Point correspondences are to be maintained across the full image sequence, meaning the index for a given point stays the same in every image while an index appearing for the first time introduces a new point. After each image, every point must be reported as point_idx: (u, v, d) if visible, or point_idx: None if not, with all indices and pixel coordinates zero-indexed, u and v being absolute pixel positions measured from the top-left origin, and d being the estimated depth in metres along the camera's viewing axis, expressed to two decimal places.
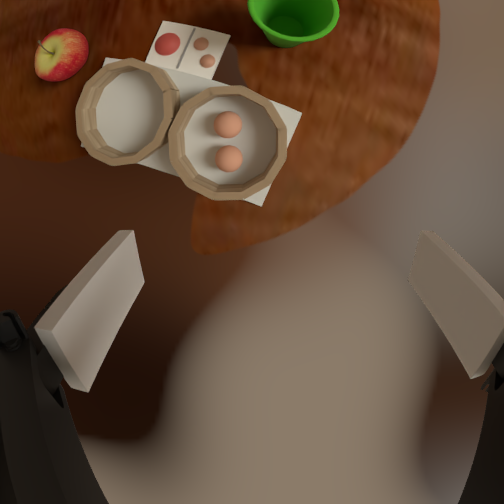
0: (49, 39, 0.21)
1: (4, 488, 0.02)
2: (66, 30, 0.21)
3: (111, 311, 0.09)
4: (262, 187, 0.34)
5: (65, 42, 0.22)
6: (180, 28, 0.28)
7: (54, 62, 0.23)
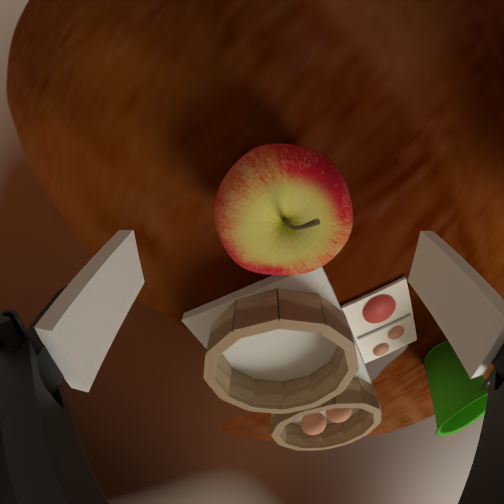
0: (314, 193, 0.14)
1: (3, 488, 0.02)
2: (351, 215, 0.15)
3: (111, 311, 0.09)
4: (316, 449, 0.33)
5: (330, 248, 0.16)
6: (404, 303, 0.26)
7: (278, 259, 0.16)
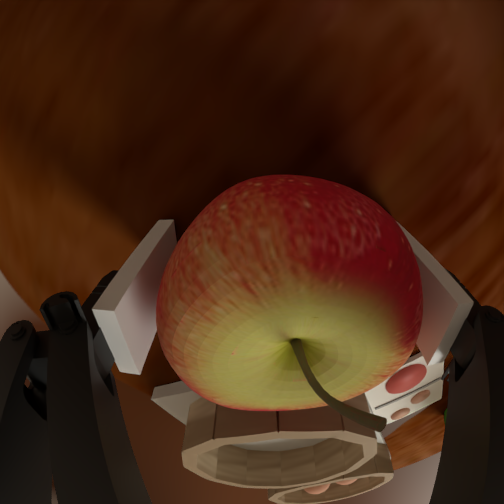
0: (368, 310, 0.06)
1: (33, 484, 0.03)
2: (420, 328, 0.07)
3: None
4: (318, 502, 0.25)
5: (375, 383, 0.07)
6: (436, 368, 0.18)
7: (279, 403, 0.08)
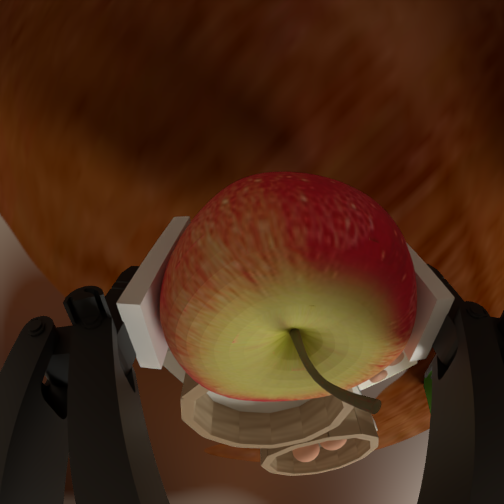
0: (363, 299, 0.06)
1: (46, 483, 0.03)
2: None
3: None
4: (310, 473, 0.29)
5: (371, 374, 0.08)
6: None
7: (279, 393, 0.08)
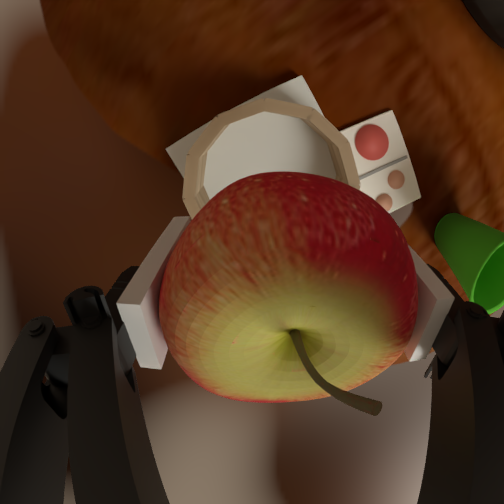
0: (363, 300, 0.06)
1: (46, 483, 0.03)
2: None
3: None
4: None
5: (372, 375, 0.08)
6: (397, 140, 0.24)
7: (279, 394, 0.08)
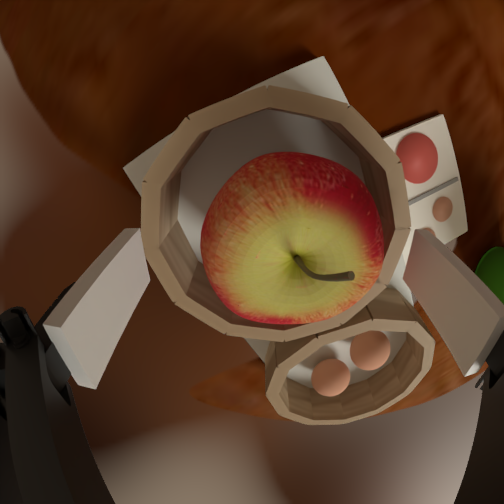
0: (341, 225, 0.10)
1: (7, 487, 0.03)
2: (383, 251, 0.11)
3: (118, 308, 0.10)
4: (334, 423, 0.23)
5: (355, 294, 0.12)
6: (447, 156, 0.16)
7: (287, 309, 0.12)
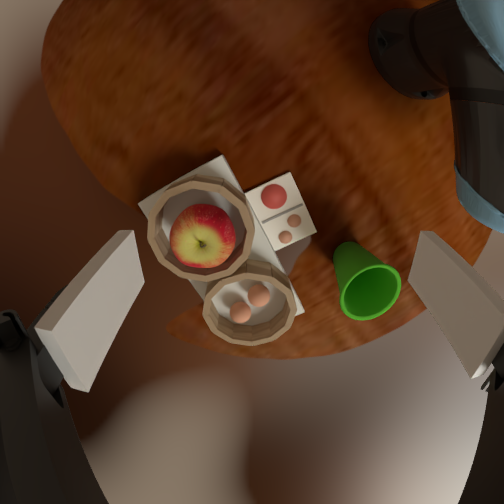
0: (210, 231, 0.32)
1: (4, 488, 0.02)
2: (230, 240, 0.34)
3: (111, 311, 0.09)
4: (247, 344, 0.45)
5: (221, 255, 0.34)
6: (294, 193, 0.39)
7: (197, 260, 0.34)
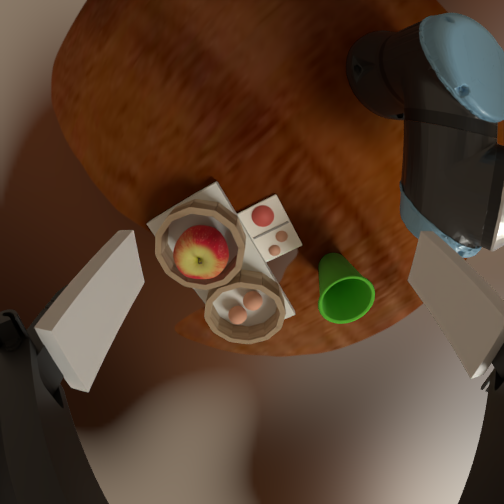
0: (206, 250, 0.39)
1: (3, 488, 0.02)
2: (223, 256, 0.40)
3: (111, 311, 0.09)
4: (243, 342, 0.52)
5: (216, 269, 0.41)
6: (280, 212, 0.45)
7: (197, 273, 0.41)
